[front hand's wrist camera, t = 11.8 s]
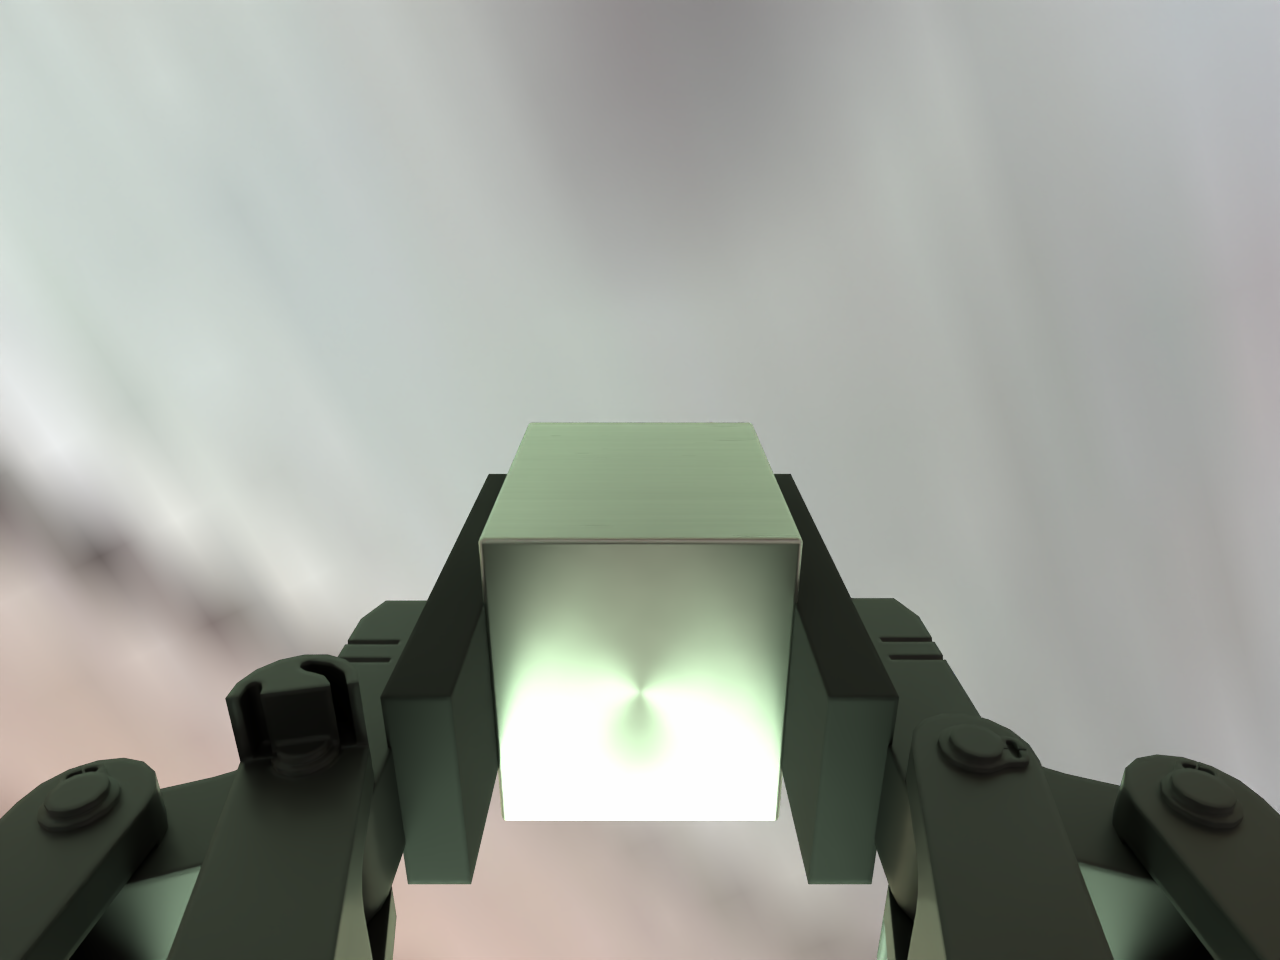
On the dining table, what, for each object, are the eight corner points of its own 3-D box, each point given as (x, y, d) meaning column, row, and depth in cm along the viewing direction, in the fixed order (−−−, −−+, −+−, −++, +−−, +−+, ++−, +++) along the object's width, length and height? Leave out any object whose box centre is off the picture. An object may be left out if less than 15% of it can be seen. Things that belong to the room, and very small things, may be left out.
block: (740, 638, 16) (779, 822, 11) (540, 638, 16) (500, 822, 12) (752, 421, 14) (804, 539, 10) (528, 421, 14) (477, 539, 10)
